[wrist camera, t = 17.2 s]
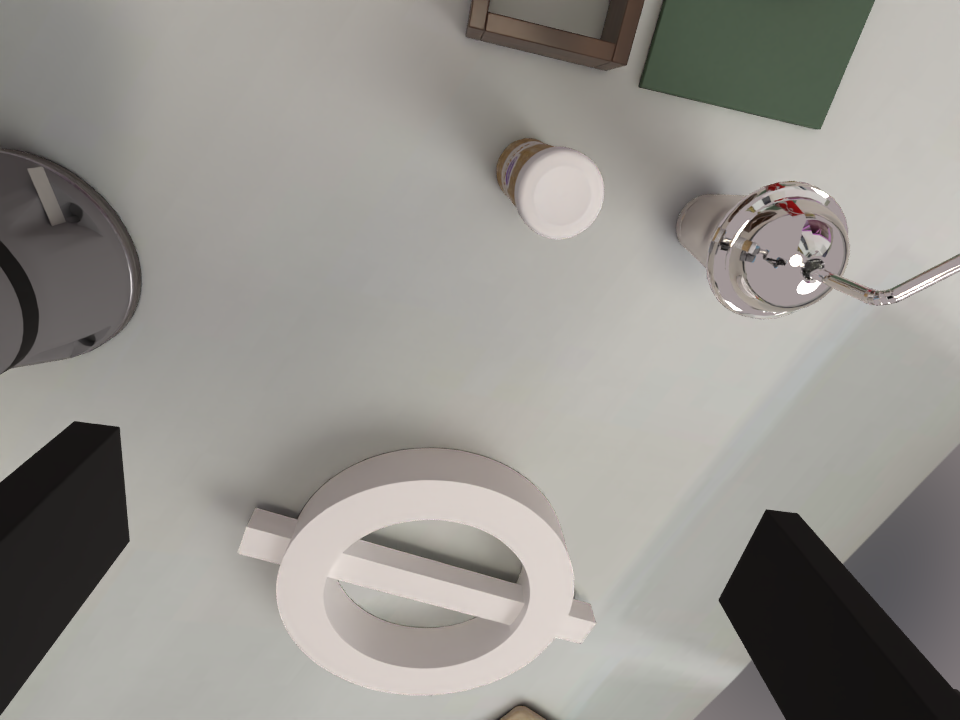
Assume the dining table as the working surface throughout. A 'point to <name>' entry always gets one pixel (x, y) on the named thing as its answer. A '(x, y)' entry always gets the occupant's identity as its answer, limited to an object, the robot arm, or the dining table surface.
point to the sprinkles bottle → (551, 187)
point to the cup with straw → (781, 250)
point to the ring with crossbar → (420, 573)
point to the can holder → (561, 35)
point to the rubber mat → (756, 54)
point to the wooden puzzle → (522, 714)
